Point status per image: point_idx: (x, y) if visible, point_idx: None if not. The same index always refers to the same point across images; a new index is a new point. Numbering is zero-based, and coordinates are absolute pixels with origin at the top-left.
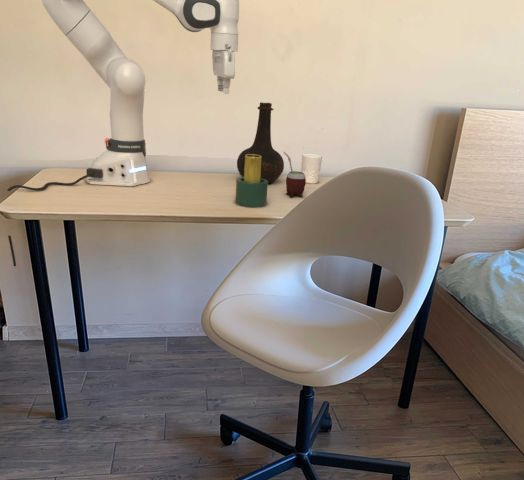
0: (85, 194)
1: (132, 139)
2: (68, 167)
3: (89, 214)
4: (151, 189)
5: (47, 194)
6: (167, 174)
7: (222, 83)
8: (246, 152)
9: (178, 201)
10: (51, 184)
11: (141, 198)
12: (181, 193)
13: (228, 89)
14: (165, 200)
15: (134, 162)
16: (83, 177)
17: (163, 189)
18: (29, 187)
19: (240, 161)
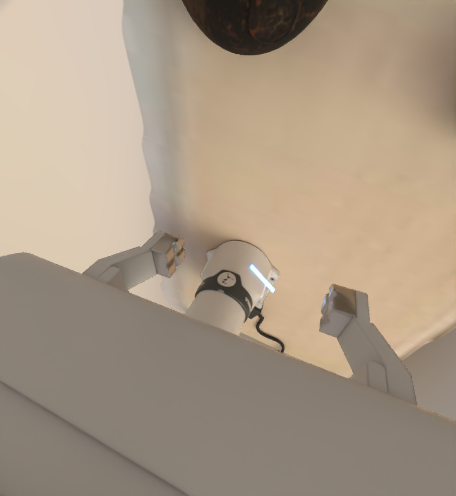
0: (308, 323)
1: (243, 316)
2: (176, 291)
3: (407, 353)
4: (301, 258)
5: (298, 343)
6: (198, 201)
7: (139, 259)
8: (261, 20)
9: (401, 254)
10: (259, 330)
11: (353, 288)
12: (344, 229)
13: (367, 315)
14: (382, 267)
15: (261, 290)
16: (262, 318)
17: (305, 244)
18: (282, 351)
19: (264, 49)
